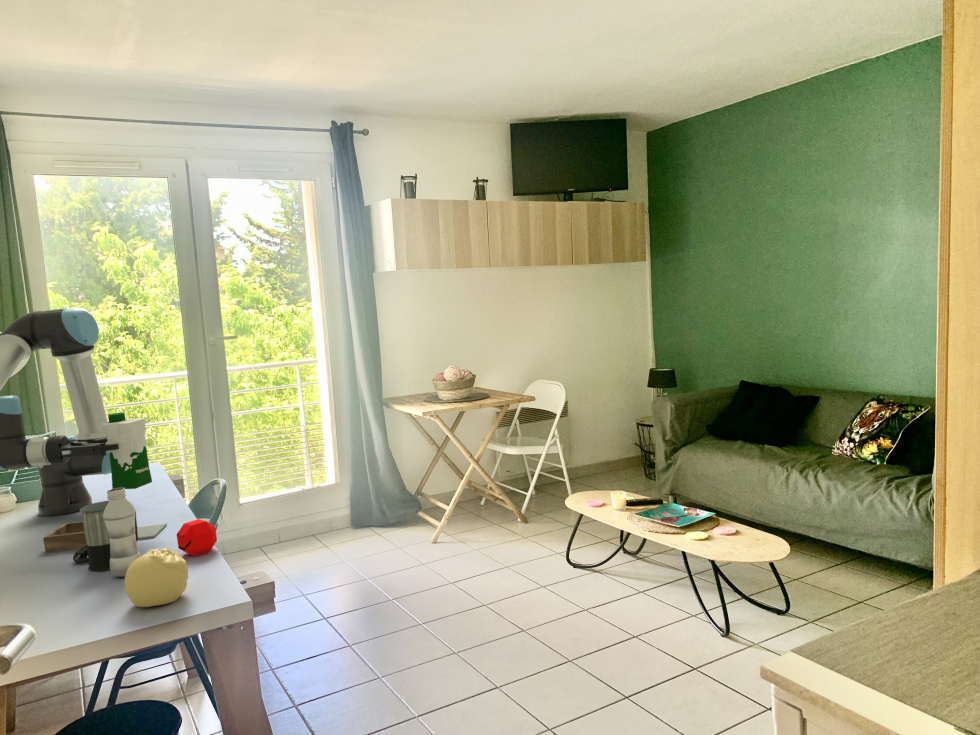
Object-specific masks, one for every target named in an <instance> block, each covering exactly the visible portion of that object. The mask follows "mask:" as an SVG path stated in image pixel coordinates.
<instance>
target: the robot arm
mask: <svg viewBox="0 0 980 735" xmlns="http://www.w3.org/2000/svg"><path fill="white" fill-rule="evenodd" d="M99 334H100V330H99V326H98V323H97V321H96V319H95V317H94V316H93V315H92V313H90V312H89V311H88V310H87V309H84V308H81V307H74V308H73V307H65V308H56V309H49V310H36V311H32V312H31V311H30V312H29V313H25V314H24V315H22V316H20V317H18V318H17V319H15V320H13V322H11V323H10V324H9V325H8V326H6V328H4V329H3V331H1V332H0V392H1V391H2V389H3V388H4V386H5V385H6V384H7V382H8V381H9V379H10V378H11V376H12V375H13V374H14V372H15V371H16V369H17V368H18V366H19V365H20V364H21V363H22V361H25V360H27V359H28V358H29V357H31V355H32V353H34V352H37V351H39V350H48V349H50V353H51V356H52V358H54V359H56V360H58V361H59V364H60V368H61V370H62V375H63V379H64V383H65V386H66V390H67V394H68V398H69V401H70V404H71V408H72V409H71V410H72V413H73V416H74V420H75V423H76V428H77V430H78V433H77V434H75V435H68V436H67V435H64V434H63V435H62V434H61V435H53V436H50V437H49V436H41V437H33V438H32V437H31V438H27V437H26V431H25V423H24V416H23V413H24V412H23V409H22V405H21V401H20V399H21V398H19V396H18V395H11V394H9V395H3V396H2V395H1V396H0V471H10V470H17V469H24V468H26V469H27V468H32V467H33V468H34V467H38V474H39V480H40V487H41V493H40V497H39V500H38V507H37V510H38V515H39V516H42V517H52V516H53V517H54V516H59V515H65V514H70V513H74V512H79V511H80V509H81V508H83V507H85V506H87V505H90V504H93V500H92V496H91V494H90V493H89V491H88V489H87V487H86V485H85V483H84V480H83V477H84V476H85V477H86V476H95V475H96V476H97V475H100V476H101V475H108V474H112V473H111V464H110V457H109V452H117V451H127V450H133V449H134V447H133V440H132V439H130V440H121V441H112V442H107V437H106V435H105V432H104V429H103V427H102V424H105V423H108V422H109V420H108V417H107V414H106V410H105V409H106V408H105V405H104V402H103V399H102V398H103V397H102V395H101V394H102V393H101V390H100V386H99V383H98V378H97V375H96V370H95V368H94V363H93V359H92V355H91V354H92V353H93V351H94V350H95V344H96V343H97V342H98V340H99ZM78 510H79V511H78Z"/></svg>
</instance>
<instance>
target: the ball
mask: <svg viewBox="0 0 980 735" xmlns="http://www.w3.org/2000/svg"><path fill="white" fill-rule="evenodd" d="M176 540H177V545H178V546H177V547H178V549H179V550H181V551H183V553H186V554H187V553H188V554H187V555H191V556H194V557H197V555H198V556H201V555H204V554H206V553H209V552H211V551H212V549H213V547H214V546H215V544H216V543H217V541H218V537H217V529H216V526H215V525H214V524H211V523H210V522H209V521H207V520H205V519H200V518H198V519H197V518H196V519H195V520H192V521H188V522H184V523H183V524H182V525H181V527H180V528H179V530H178V532H177V533H176ZM203 553H204V554H203ZM200 554H201V555H200Z"/></svg>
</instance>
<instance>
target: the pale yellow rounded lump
mask: <svg viewBox="0 0 980 735" xmlns="http://www.w3.org/2000/svg"><path fill="white" fill-rule="evenodd" d="M188 579H189V566H188V565H187V561H186V560H185V559H184V558H183V557H182V556H180V555H179V553H178V552H176V551H173V550H171V549H170V548H169V547H167V548H165V547H164V548H162V549H161V548H160V549H158V548H155V549H148V551H147V552H145V553H144V554H143V555H140V557H139V558H137V559H136V560H135V561H134V562H133V563H132V564H131V565H130V566H129V568H128V570H127V572H126V575H125V576H124V590H125V593H126V594H125V595H126V596H127V598H128V600H129V601H130V602H131V603H132V604H133V605H134V606H136V607H139V608H149V607H156V606H157V607H158V606H162V605H168V604H171V603H174V602H176V601H177V600H178V599H179V598H180V597H181V595H182V594H183V593H184V592H185V590H186V589H187V586H188Z"/></svg>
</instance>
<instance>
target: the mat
mask: <svg viewBox="0 0 980 735" xmlns="http://www.w3.org/2000/svg"><path fill="white" fill-rule="evenodd" d="M167 525H168V524H167V523H162V524H154V525H153V524H151V525H145V526H137V533H138V541H139V540H147V539H155V538H156V537H157V536H158V535H160V533H161V532H162V531H163V530H164V529H165V528H166V527H167Z"/></svg>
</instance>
